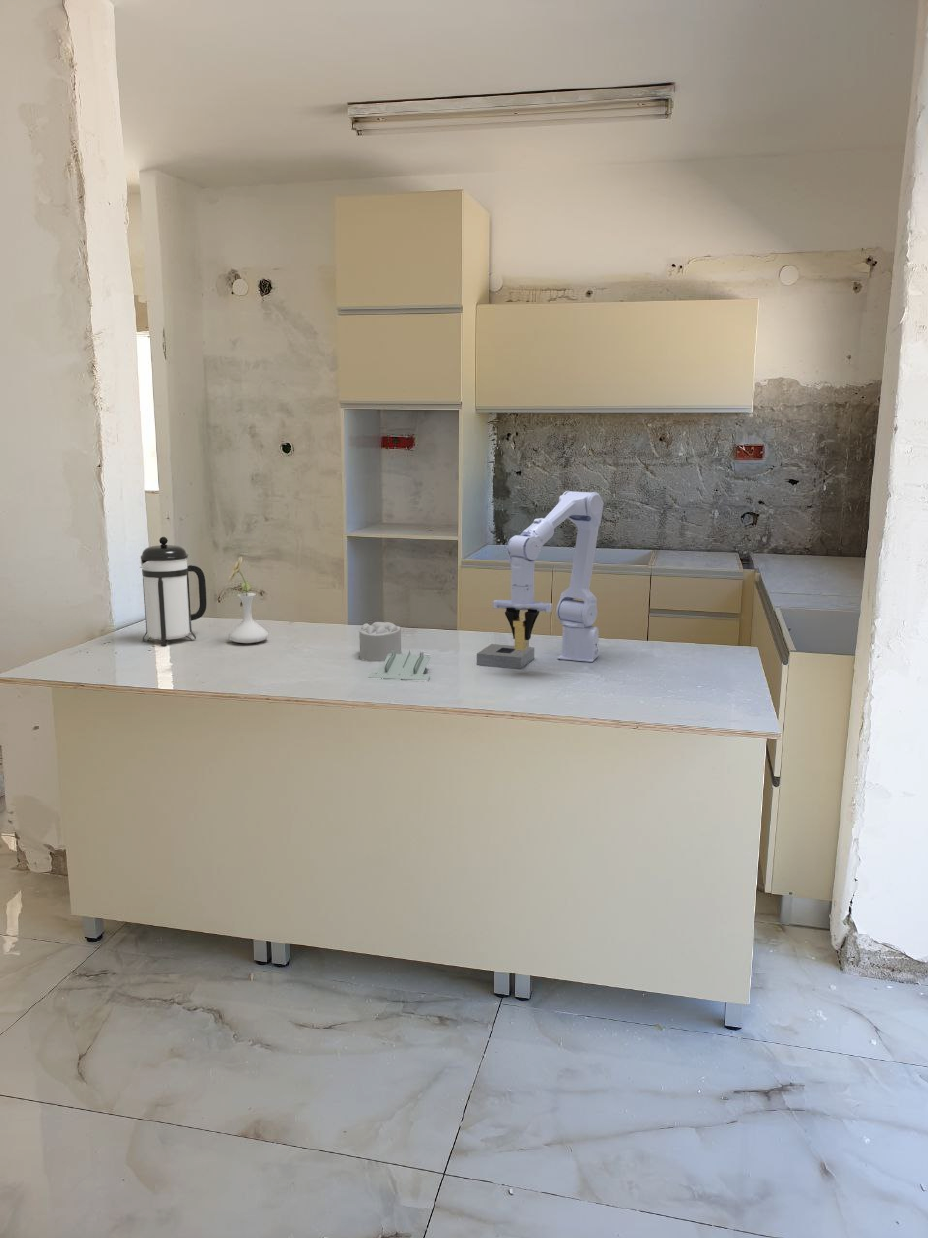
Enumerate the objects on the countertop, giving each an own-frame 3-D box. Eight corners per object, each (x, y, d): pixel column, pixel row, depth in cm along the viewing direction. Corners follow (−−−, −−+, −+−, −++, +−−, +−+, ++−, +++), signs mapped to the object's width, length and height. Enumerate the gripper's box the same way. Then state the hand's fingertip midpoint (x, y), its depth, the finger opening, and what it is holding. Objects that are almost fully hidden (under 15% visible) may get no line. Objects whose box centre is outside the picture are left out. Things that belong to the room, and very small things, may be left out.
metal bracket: (381, 645, 237) (438, 648, 234) (383, 665, 240) (439, 667, 237) (365, 674, 225) (426, 677, 222) (368, 694, 227) (427, 698, 225)
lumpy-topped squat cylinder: (404, 651, 255) (404, 620, 253) (391, 662, 243) (391, 630, 241) (368, 649, 257) (367, 618, 255) (353, 660, 245) (352, 628, 243)
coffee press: (191, 646, 259) (185, 539, 254) (134, 646, 260) (127, 539, 254) (208, 633, 276) (203, 533, 271) (155, 633, 277) (149, 533, 271)
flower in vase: (237, 636, 272) (233, 552, 267) (274, 638, 271) (271, 553, 266) (219, 646, 260) (215, 558, 255) (258, 648, 258) (255, 559, 253)
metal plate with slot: (534, 658, 247) (534, 647, 246) (520, 669, 236) (521, 657, 235) (491, 654, 251) (491, 643, 250) (476, 664, 240) (476, 653, 239)
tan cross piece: (530, 645, 233) (530, 616, 232) (522, 651, 227) (522, 621, 225) (520, 644, 234) (521, 615, 232) (512, 650, 228) (513, 620, 226)
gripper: (489, 585, 226) (489, 639, 229) (546, 588, 221) (545, 644, 224) (498, 581, 233) (497, 634, 235) (554, 584, 228) (553, 638, 230)
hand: (521, 638), depth 230 cm, fingers closed on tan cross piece, 2 cm apart
